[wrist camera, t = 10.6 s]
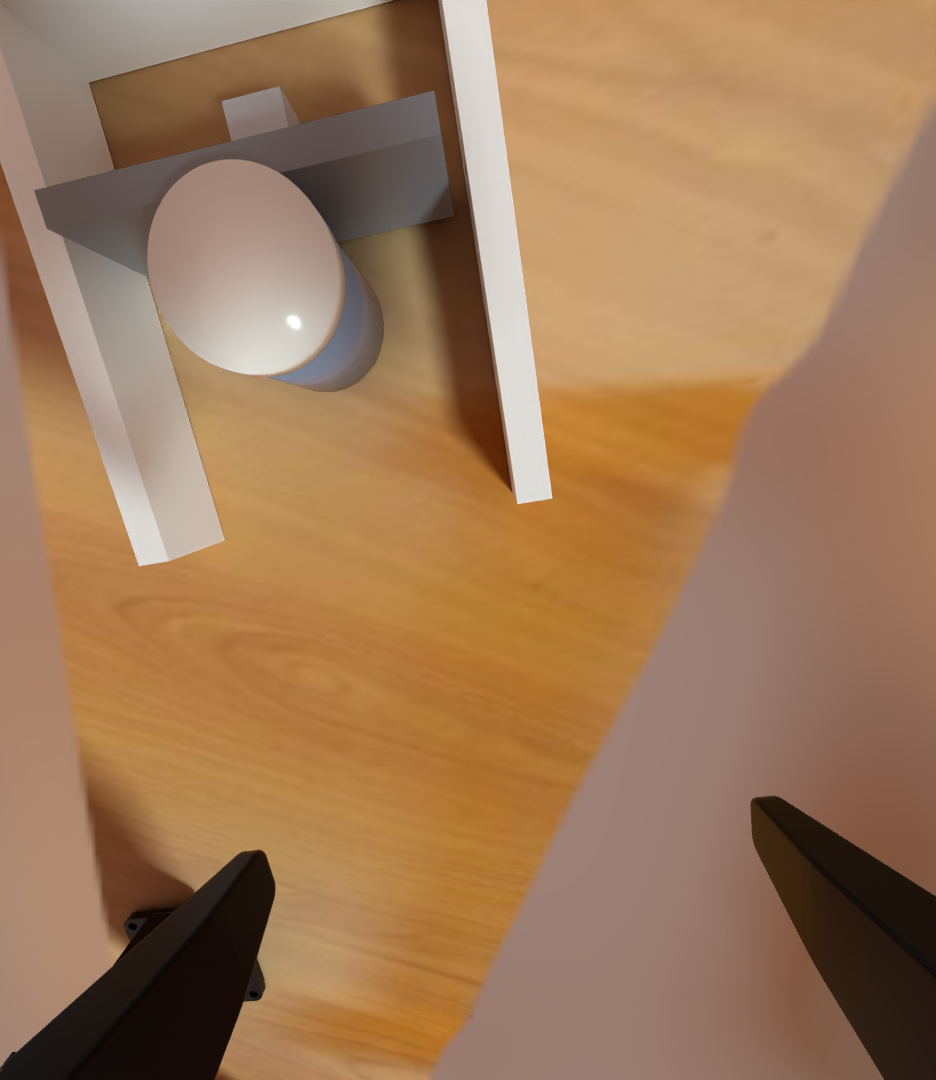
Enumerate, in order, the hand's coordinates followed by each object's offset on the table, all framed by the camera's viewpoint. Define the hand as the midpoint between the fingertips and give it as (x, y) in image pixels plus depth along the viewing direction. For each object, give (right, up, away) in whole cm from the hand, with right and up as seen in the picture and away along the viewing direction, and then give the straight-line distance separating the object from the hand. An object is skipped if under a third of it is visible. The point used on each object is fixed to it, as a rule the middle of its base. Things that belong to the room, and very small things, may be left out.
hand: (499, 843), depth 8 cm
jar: (-6, +14, +9) cm, 18 cm away
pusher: (-7, +18, +8) cm, 21 cm away
